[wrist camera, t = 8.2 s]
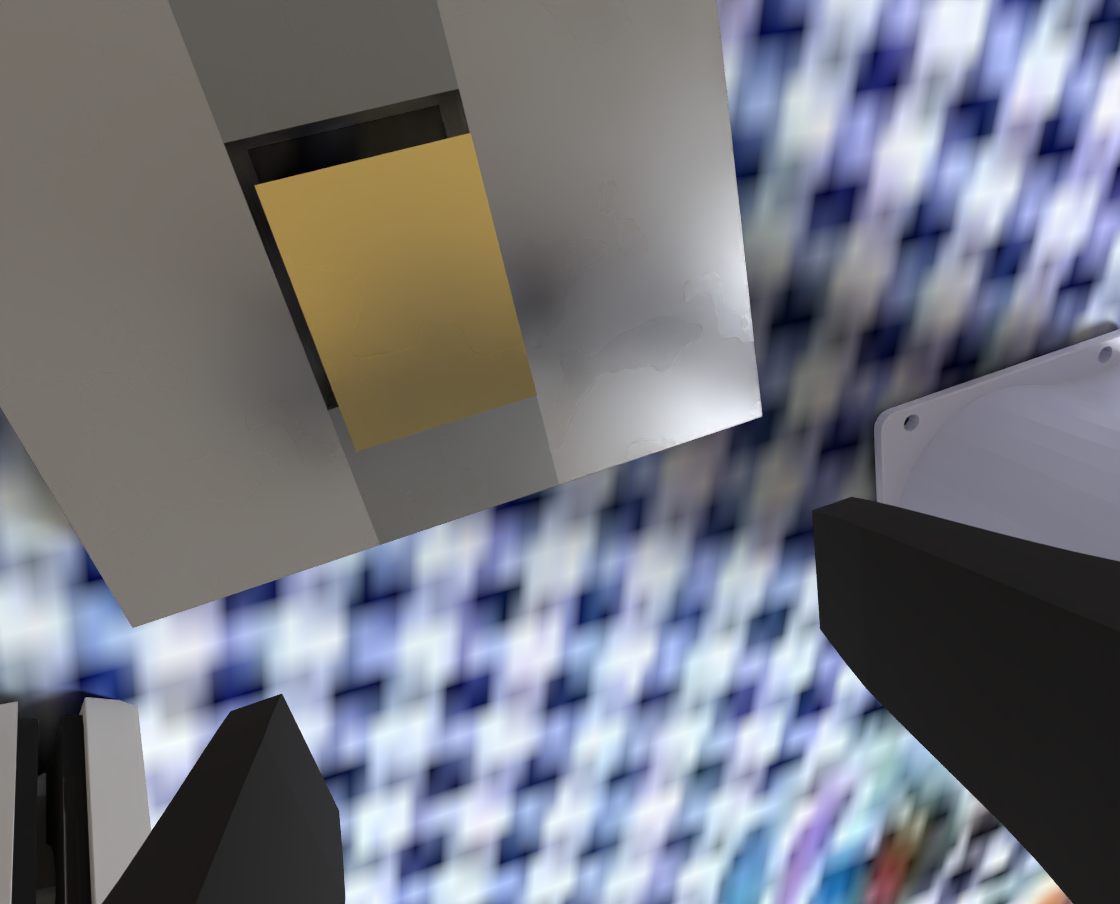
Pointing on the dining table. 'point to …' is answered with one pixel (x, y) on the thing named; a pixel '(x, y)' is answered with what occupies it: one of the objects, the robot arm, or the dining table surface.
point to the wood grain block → (402, 288)
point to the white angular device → (71, 805)
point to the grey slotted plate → (267, 292)
